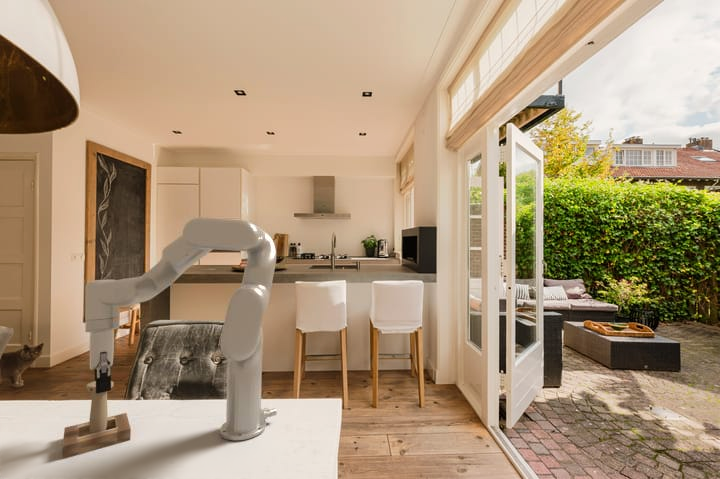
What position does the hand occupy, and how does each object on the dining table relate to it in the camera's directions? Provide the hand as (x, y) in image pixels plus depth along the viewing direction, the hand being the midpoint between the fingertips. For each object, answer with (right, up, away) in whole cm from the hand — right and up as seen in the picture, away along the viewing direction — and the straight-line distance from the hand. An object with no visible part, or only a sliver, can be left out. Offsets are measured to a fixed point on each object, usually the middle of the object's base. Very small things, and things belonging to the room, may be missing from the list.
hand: (102, 386), depth 93 cm
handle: (-1, -14, -1) cm, 14 cm away
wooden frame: (-1, -14, -1) cm, 14 cm away
